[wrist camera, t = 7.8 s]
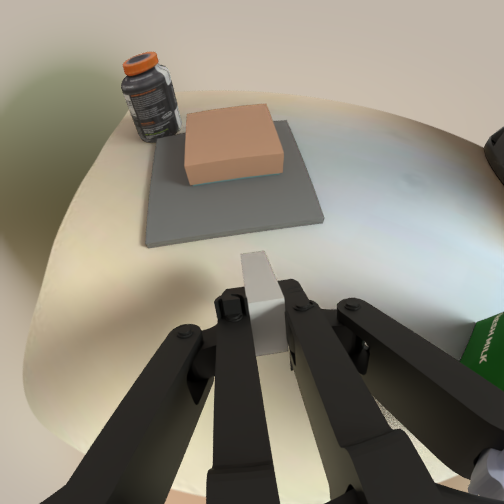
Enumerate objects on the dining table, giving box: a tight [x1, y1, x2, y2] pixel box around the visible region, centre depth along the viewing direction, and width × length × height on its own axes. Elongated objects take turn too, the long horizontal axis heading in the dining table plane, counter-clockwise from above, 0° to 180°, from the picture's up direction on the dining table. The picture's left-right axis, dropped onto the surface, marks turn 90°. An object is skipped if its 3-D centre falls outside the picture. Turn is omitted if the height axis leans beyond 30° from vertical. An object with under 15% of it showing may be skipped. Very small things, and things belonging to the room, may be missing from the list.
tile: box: [184, 104, 284, 186], centre depth 27 cm, size 9×3×9 cm
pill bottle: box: [121, 52, 182, 143], centre depth 27 cm, size 6×6×11 cm
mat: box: [145, 120, 324, 248], centre depth 27 cm, size 16×15×1 cm
